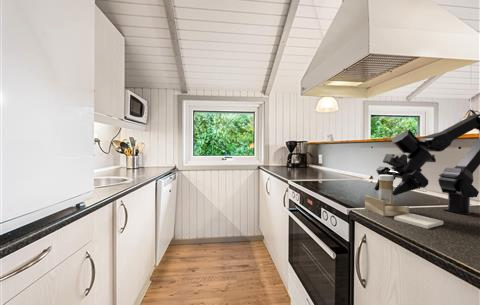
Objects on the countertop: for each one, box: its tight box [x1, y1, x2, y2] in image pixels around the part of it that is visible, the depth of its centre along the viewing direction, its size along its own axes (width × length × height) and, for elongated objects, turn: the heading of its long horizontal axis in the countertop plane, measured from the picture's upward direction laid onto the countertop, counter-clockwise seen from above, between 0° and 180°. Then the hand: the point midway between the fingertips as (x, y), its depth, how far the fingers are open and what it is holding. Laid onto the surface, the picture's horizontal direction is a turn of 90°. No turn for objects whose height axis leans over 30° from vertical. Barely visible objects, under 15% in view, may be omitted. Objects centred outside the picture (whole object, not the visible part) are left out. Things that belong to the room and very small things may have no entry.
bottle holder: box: [364, 194, 410, 217], centre depth 81 cm, size 10×10×5 cm
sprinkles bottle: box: [378, 174, 395, 206], centre depth 81 cm, size 5×5×14 cm
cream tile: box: [393, 212, 444, 230], centre depth 70 cm, size 9×9×1 cm
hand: (383, 192), depth 81 cm, fingers open, 9 cm apart
